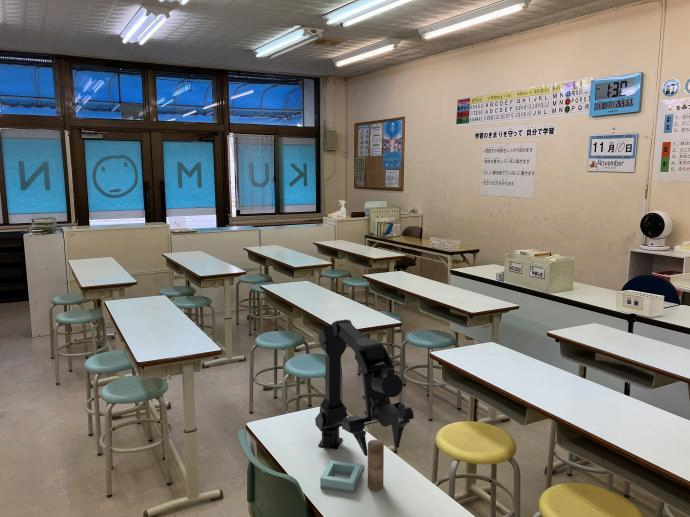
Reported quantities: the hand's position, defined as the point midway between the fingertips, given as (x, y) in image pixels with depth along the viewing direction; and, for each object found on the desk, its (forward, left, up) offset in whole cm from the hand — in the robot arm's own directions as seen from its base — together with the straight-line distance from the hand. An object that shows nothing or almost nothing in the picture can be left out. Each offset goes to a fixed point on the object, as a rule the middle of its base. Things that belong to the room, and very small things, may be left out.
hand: (381, 451), depth 140 cm
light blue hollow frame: (-9, -13, -15) cm, 22 cm away
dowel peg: (-7, -3, -15) cm, 17 cm away
